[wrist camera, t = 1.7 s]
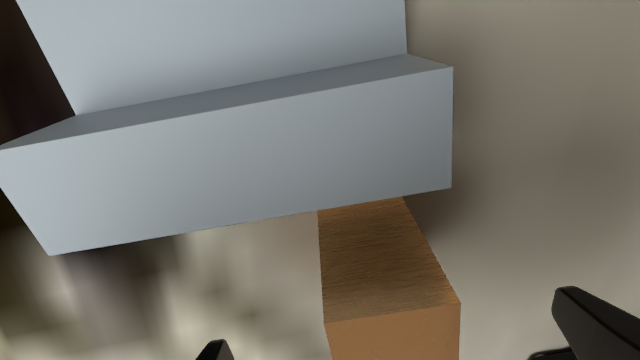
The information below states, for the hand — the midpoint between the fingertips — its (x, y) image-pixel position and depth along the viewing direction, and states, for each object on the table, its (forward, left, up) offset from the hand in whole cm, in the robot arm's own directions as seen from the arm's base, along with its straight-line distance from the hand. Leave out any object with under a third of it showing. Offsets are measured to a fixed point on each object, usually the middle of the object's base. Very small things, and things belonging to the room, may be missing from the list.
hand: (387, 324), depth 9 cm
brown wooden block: (0, 0, -5) cm, 5 cm away
